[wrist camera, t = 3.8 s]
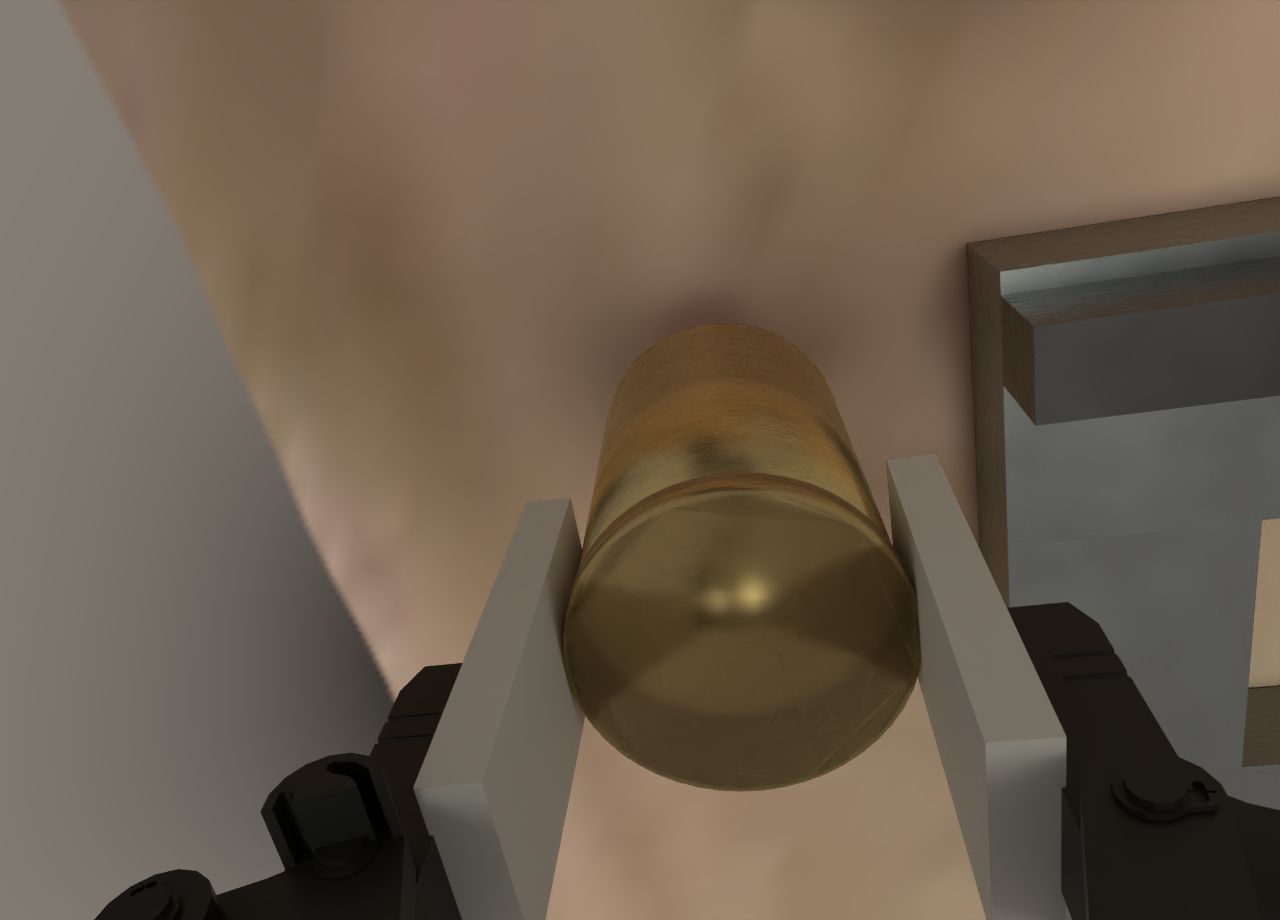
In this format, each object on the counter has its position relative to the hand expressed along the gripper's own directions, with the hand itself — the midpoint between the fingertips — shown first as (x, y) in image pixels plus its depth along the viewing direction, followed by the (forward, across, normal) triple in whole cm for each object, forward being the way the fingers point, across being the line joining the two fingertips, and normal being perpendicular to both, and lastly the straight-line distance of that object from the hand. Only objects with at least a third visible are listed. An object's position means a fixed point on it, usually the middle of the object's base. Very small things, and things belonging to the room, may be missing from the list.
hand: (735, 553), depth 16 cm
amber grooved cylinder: (+5, 0, 0) cm, 5 cm away
